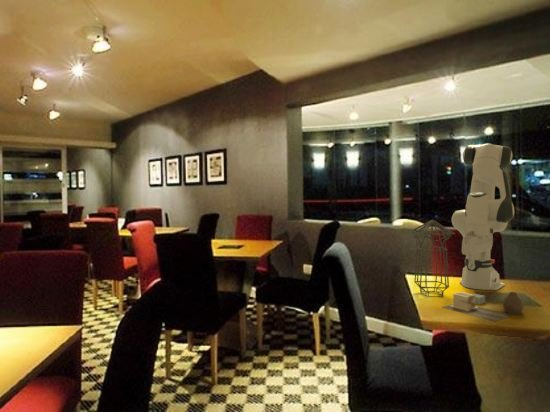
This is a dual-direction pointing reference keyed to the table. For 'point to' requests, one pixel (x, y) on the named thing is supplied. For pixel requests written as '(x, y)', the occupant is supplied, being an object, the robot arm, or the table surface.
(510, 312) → the vase
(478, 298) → the top block
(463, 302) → the block
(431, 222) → the geometric lantern
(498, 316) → the board
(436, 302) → the table surface
